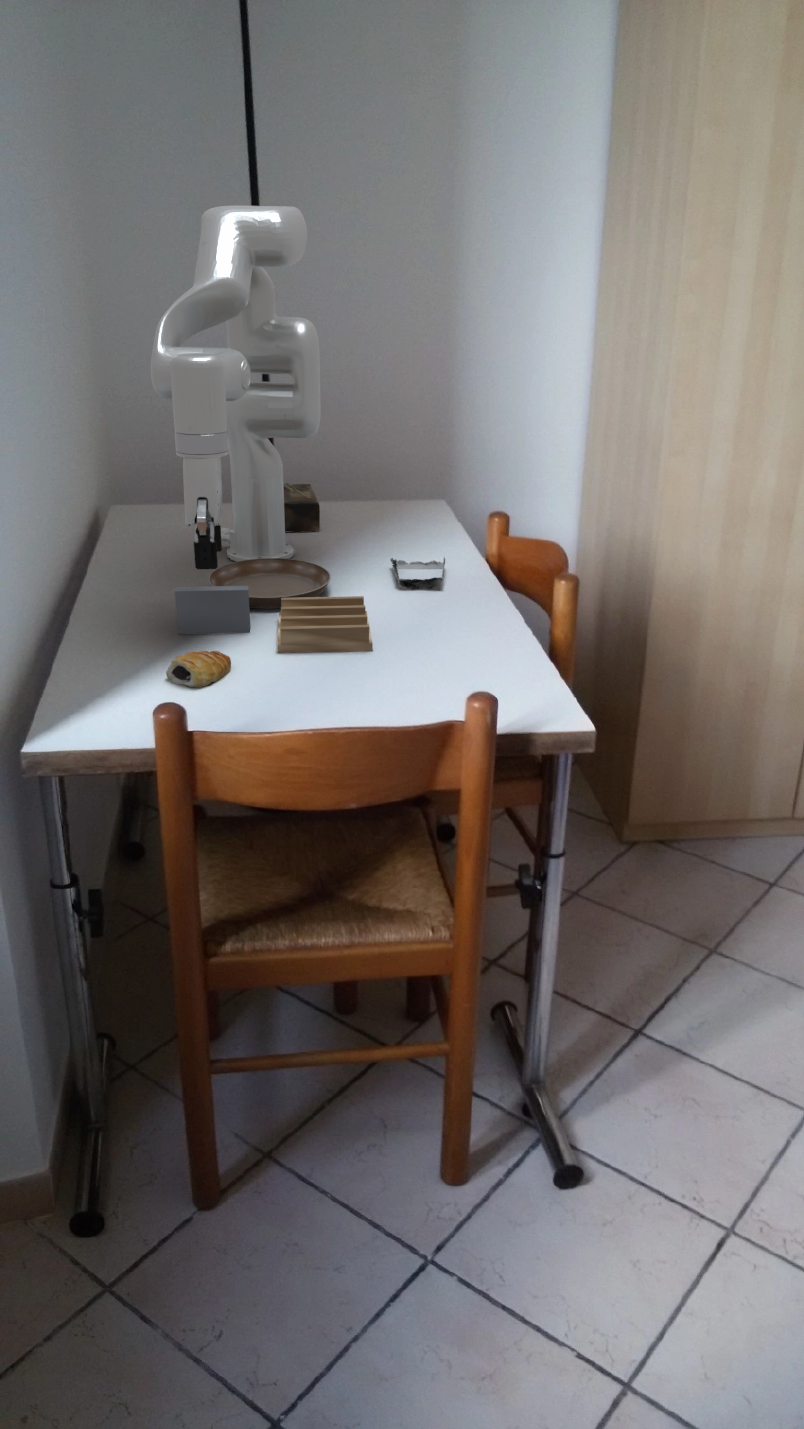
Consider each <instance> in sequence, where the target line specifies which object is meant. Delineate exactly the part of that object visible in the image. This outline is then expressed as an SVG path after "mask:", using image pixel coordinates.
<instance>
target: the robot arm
mask: <svg viewBox="0 0 804 1429" xmlns="http://www.w3.org/2000/svg"><path fill="white" fill-rule="evenodd" d="M307 241H308V228H307V224H306V220H305V218H304V214H303V213H302V212H301V210H300V209H299V208H297V207H295V206H287V205H286V206H285V205H283V206H280V205H278V206H276V205H242V204H241V205H222V206H221V205H220V206H215V207H212V208H208V209H207V210H205V212H203V214H202V216H201V218H200V236H199V243H198V250H197V256H196V257H197V258H196V265H195V271H194V278H193V279H194V280H193V286H192V287H191V288H190V289H188V290H187V291H185V292H184V293H183V294H181V296H179V297H178V298H177V299H176V300H175V301H174V302H173V303H172V304H171V305H170V307H169V308H168V309H166V311H165V312H164V314H163V315H162V316H161V318H160V319H159V321H158V324H157V326H156V330H155V334H154V340H153V344H152V351H151V358H150V359H151V360H150V380H151V383H152V387H153V389H154V391H155V392H156V393H157V394H158V396H159V397H162V398H163V399H166V400H170V401H172V412H173V427H174V443H175V444H174V445H175V454H176V456H178V457H180V458H183V461H182V465H183V466H182V469H183V470H182V473H183V474H182V477H183V479H182V480H183V499H184V500H183V501H184V503H183V504H184V523H185V525H186V526H187V527H189V528H190V527H191V525H194V541H193V552H194V567H195V569H196V570H216V569H218V568H219V567H218V566H219V565H218V564H219V562H218V553H219V552H221V551H222V550H223V546H222V542H228V543H229V547H228V548H227V549H226V557H227V558H228V559H229V558H230V559H229V560H231V561H234V562H238V561H243V560H250V559H260V558H284V559H292V557H294V555H295V548H294V546H293V545H291V544H289V543H287V542H286V532H285V516H284V489H283V483H284V465H283V460H282V458H281V457H282V456H281V454H280V453H279V452H278V450H277V449H276V447H275V446H274V445H273V444H272V442H271V440H270V439H272V438H273V439H274V438H284V439H289V438H291V439H296V438H297V439H305V438H306V439H307V438H310V437H313V436H314V435H316V434H317V433H318V432H319V428H320V424H321V413H322V412H321V409H322V408H321V365H320V363H321V362H320V360H321V357H320V356H321V355H320V343H319V336H318V335H319V334H318V332H317V330H316V327H315V325H314V323H313V322H312V321H310V320H308V319H307V318H304V317H297V316H295V317H294V316H278V315H277V312H276V291H275V290H276V289H275V285H274V282H273V280H272V278H271V277H270V276H269V274H268V272H267V271H266V270H265V267H267V268H269V267H270V268H271V267H272V268H275V267H276V268H277V267H278V268H280V267H281V268H282V267H291V266H294V265H295V264H296V263H298V262H300V261H301V260H302V258H303V256H304V254H305V252H306V248H307V244H308V242H307ZM223 323H226V337H227V340H226V342H227V347H207V346H206V347H205V346H202V347H200V346H199V347H198V346H194V347H193V346H182V345H183V344H184V343H185V342H186V341H187V340H189V339H190V338H191V337H193V336H194V335H196V334H199V333H200V332H202V331H205V330H209V329H210V328H212V327H216V326H218V325H221V324H223ZM252 374H257V375H259V374H261V375H288V376H291V377H292V379H293V381H294V382H279V381H277V382H276V381H275V382H273V381H251V379H252V378H251V376H252ZM228 455H229V464H230V465H229V466H230V483H231V484H230V485H231V500H232V501H231V502H232V516H233V519H232V521H233V529H231V528H226V527H221V524H220V521H221V517H222V512H223V510H222V509H223V477H222V476H223V472H222V457H226V456H228Z"/></svg>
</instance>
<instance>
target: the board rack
mask: <svg viewBox="0 0 804 1429" xmlns="http://www.w3.org/2000/svg"><path fill="white" fill-rule="evenodd" d="M364 601H365V599H364V596H363V595H362V596H361V595H360V596H357V595H356V596H355V595H354V596H317V597H299V598H281V608H280V612H278V624H277V625H278V626H277V653H278V654H286V653H287V654H289V653H290V654H292V653H294V654H295V653H296V654H298V653H330V652H331V653H332V652H371V651H373V644H374V642H373V640H372V639H373V637H372V634H371V633H372V632H371V629H370V628H371V627H370V622H369V616H368V611H367V610H366V605H365V602H364Z"/></svg>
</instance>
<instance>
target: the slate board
mask: <svg viewBox="0 0 804 1429" xmlns="http://www.w3.org/2000/svg"><path fill="white" fill-rule="evenodd" d="M174 598H175V600H174V601H175V610H176V613H175V614H176V623H177V624H176V625H177V634H178V635H196V634H197V635H199V634H200V635H203V634H204V635H205V634H244V633H245V634H248V633H251V631H252V630H251V629H252V626H251V608H250V604H249V586H211V585H210V586H176V587H175V590H174Z"/></svg>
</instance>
